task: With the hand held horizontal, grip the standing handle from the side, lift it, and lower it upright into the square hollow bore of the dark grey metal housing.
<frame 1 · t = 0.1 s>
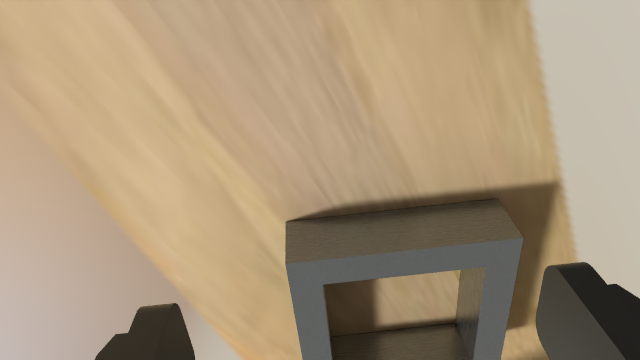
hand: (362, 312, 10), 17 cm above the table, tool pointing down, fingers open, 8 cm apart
housing: (392, 285, 34), on the table
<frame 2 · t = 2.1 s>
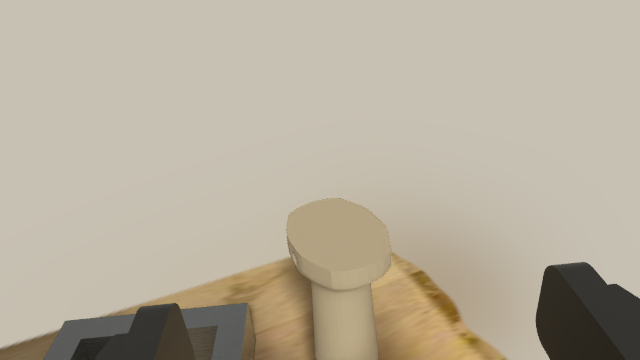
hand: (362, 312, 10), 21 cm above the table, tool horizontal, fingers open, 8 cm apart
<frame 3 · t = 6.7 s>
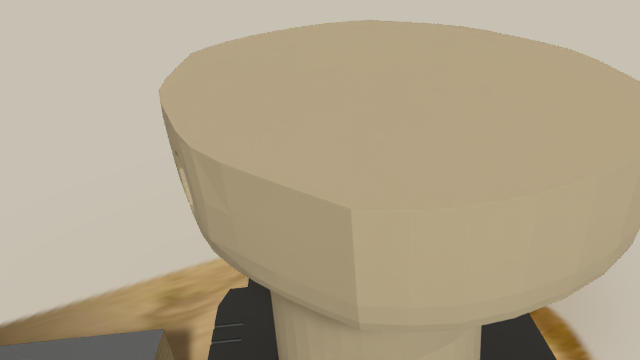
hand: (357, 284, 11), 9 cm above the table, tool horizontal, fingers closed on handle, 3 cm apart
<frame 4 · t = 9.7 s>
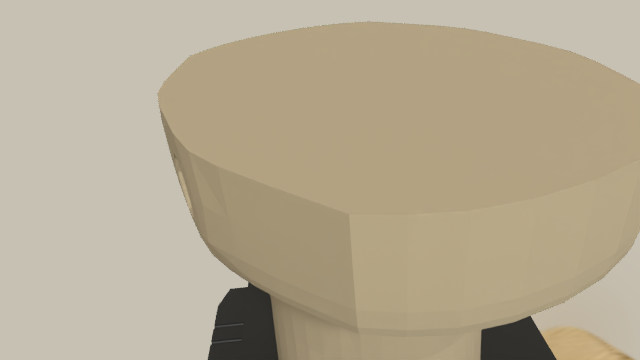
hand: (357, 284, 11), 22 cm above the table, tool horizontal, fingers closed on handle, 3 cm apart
when the fingers open (11 cm above the table, at t = 12.5 s): handle drops 2 cm, resting in housing.
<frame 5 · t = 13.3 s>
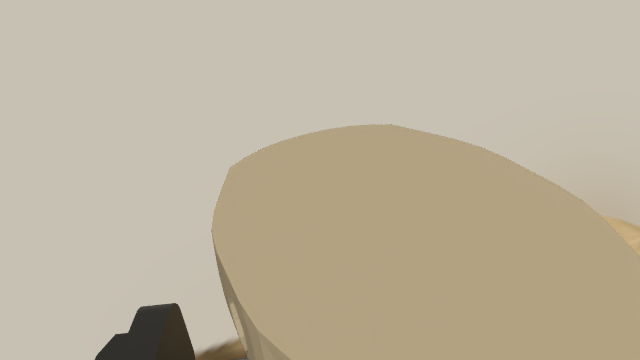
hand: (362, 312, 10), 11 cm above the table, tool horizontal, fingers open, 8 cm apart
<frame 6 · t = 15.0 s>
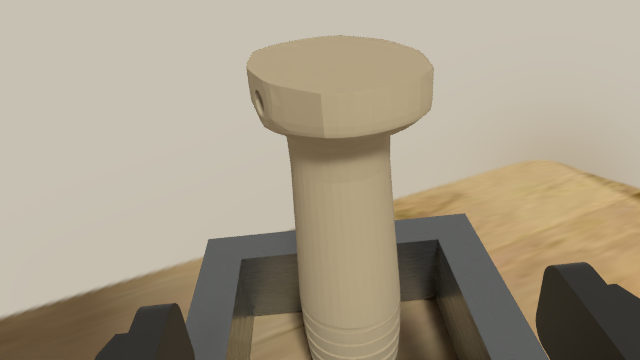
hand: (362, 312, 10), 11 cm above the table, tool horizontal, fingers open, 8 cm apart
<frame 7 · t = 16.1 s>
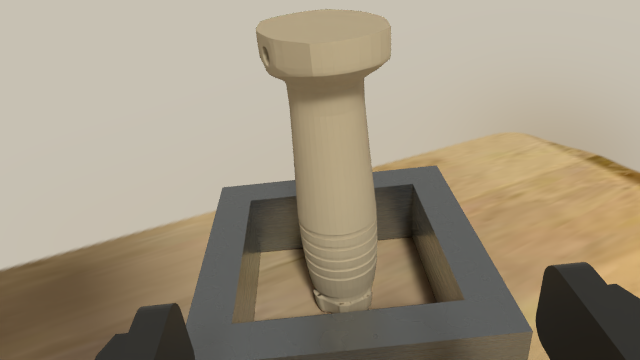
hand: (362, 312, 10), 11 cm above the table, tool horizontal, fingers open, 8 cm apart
housing: (343, 298, 26), on the table
handle: (345, 302, 26), resting in housing
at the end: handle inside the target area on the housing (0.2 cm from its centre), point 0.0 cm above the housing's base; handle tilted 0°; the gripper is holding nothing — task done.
